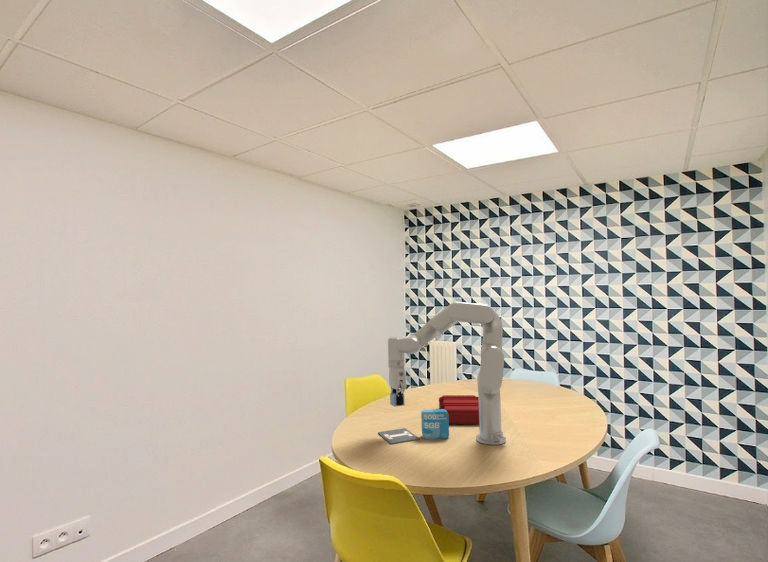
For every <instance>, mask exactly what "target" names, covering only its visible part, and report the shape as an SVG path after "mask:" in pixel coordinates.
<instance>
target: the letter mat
mask: <svg viewBox="0 0 768 562" xmlns="http://www.w3.org/2000/svg"><path fill="white" fill-rule="evenodd" d="M377 434H378V435H379V434H380V435H381V438H383V439H384V440H385V441H386V442H387V443H389V445H395V444H396V445H397V444H402V443H407V442H414V441H420V437H419V436H417V435H415V434H414V433H413V432H411V431H410V430H408V429H407V428H405V427H403V428H397V429H390V430H384V431H378V432H377ZM380 435H379V436H380Z"/></svg>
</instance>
